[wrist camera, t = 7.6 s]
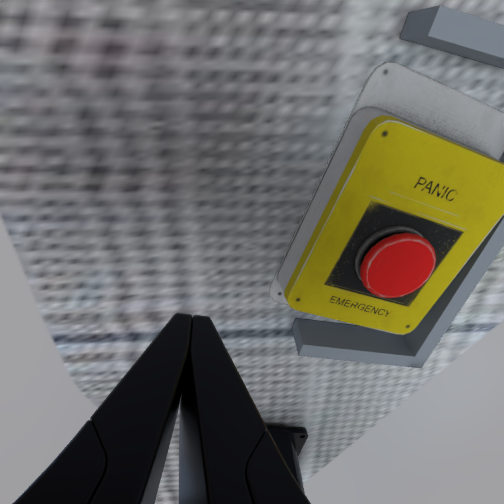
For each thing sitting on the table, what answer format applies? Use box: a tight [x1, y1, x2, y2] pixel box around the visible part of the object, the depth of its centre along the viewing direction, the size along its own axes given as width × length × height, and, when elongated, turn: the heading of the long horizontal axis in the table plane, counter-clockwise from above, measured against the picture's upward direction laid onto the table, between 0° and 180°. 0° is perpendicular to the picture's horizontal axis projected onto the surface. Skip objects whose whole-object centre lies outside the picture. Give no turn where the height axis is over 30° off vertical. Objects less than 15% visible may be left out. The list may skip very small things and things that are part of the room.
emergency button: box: [270, 62, 504, 335], centre depth 19 cm, size 9×4×15 cm
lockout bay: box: [292, 5, 504, 368], centre depth 19 cm, size 19×10×4 cm, turn 167°
